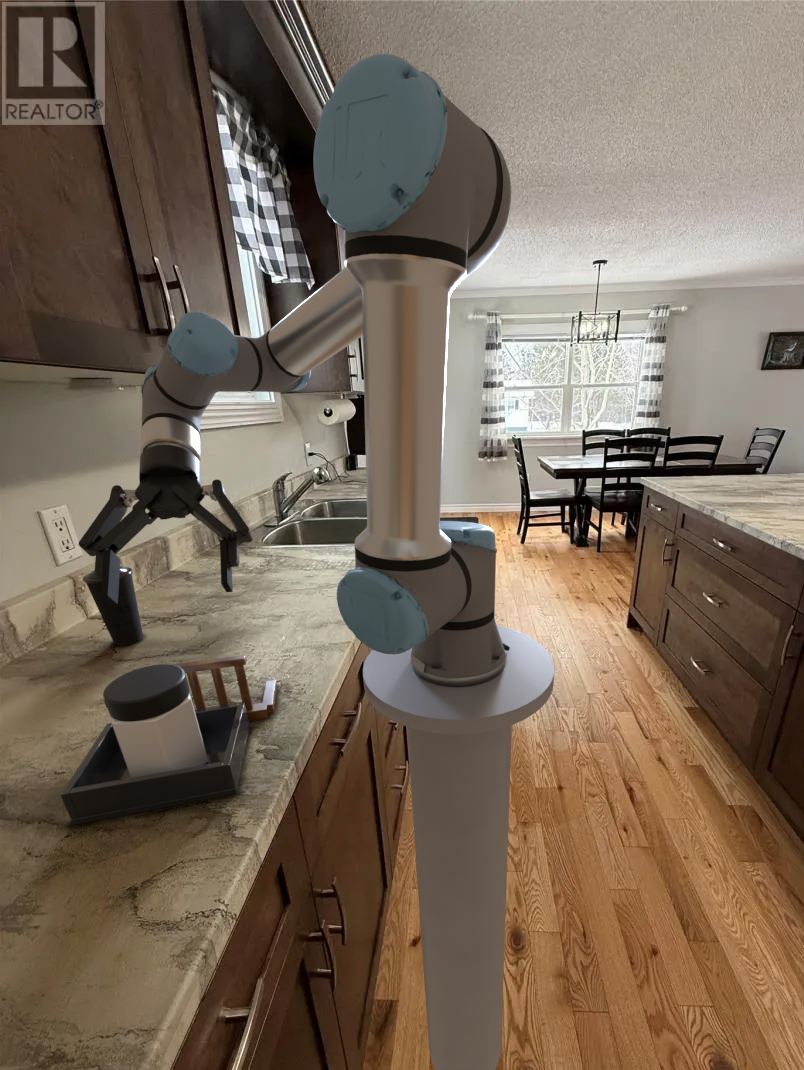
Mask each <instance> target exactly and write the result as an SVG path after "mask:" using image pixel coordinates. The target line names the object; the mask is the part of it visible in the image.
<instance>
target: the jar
mask: <svg viewBox="0 0 804 1070" xmlns="http://www.w3.org/2000/svg"><path fill="white" fill-rule="evenodd" d="M132 670H133V671H132ZM132 670H130V671H128V672H126V673H123V674H122V675H120V676H118V677H116V678H115V679H114V680H112V681H111V682H109V683H108V684H107V685H106V686H105V689H103V692H102V697H103V699H104V700H103V701H104V702H103V703H104V704H105V708H106V709H107V711H108V714H109V716H110V717H111V723H112V726H113V729H114V731H115V734H116V737H117V740H118V743H119V745H120V748H121V751H122V754H123V757H124V759H125V762H126V765H127V768H128V771H129V773H130V776H131V778H133V777H138V776H144V775H150V774H155V773H161V772H166V771H172V770H178V769H183V768H189V767H194V766H200V765H204V764H206V763H207V762H208V758H207V754H206V750H205V747H204V743H203V739H202V736H201V732H200V728H199V725H198V721H197V717H196V714H195V710H196V709H195V707H194V706H195V705H194V704H193V703H194V702H193V700H192V695H191V693H190V692H191V688H190V684H189V681H188V677H187V673H185V671H184V670H183V669H182V668H181V667H179V666H176V665H172V664H168V663H167V664H166V663H161V664H153V665H147V666H144V667H139V668H136V670H134V669H132Z"/></svg>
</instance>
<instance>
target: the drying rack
mask: <svg viewBox="0 0 804 1070" xmlns="http://www.w3.org/2000/svg"><path fill="white" fill-rule="evenodd" d="M247 661H248V659H247V655H246V654H241V655H239V654H238V655H232V656H225V657H217V658H209V659H203V660H195V661H188V662H179V663H173V664H171V665H176V666H179V667H181V668H182V669H183V670H184V671H185V674H186V678H187V681H188V685H189V689H190V692H191V696H192V698H193V703H194V706H195V710H198V709H204V708H207V706H206V703H205V702H206V701H205V698H204V694H203V690H202V687H201V683H200V679H199V675H198V672H203V671H209V670H210V674H211V678H212V681H213V685H214V689H215V693H216V699H217V702H218V706H224V705H230V702H229V698H228V695H227V690H226V687H225V686H226V685H225V681H224V677H223V672H222V669H224V668H225V669H226V668H232V667H234V671H235V676H236V681H237V685H238V689H239V693H240V698H241V703H243V702H244V703H245V707H246V712H247V716H248V721H249V722H252V721H258V720H263V719H268V718H269V715H270V714H274V713H275V707H276V701H277V692H278V685H277V680H276V679H272V680H271V679H270V680H266V681H265V685H264V690H263V696H262V701H261V702H257V703H256V702H255V703H253V702H252V696H251V692H250V687H249V684H248V683H249V682H248V678H247V674H246V669H245V665H246V664H247ZM136 669H137V668H136ZM136 669H131V671H133V670H136Z"/></svg>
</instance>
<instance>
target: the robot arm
mask: <svg viewBox="0 0 804 1070" xmlns="http://www.w3.org/2000/svg"><path fill="white" fill-rule="evenodd" d="M333 89H334V90H333V91H332V94H331V96H330V98H329V99H328V100H326V101H325V104H324V106H323V109H322V111H321V114H320V117H319V121H318V123H317V128H316V133H315V138H314V145H313V157H312V159H313V161H312V162H313V175H314V176H313V177H314V182H315V187H316V191H317V194H318V196H319V199H320V203H321V204H322V205H323V206H324V207H325V208H326V212H327V214H328V216H329V217H330V218H331V219H332V220H333V222H334V223H335V224H336V225H337V226H338V227H339V228H340V229H341V230H343V241H344V242H343V243H344V266H345V267H344V268H343V269H342V270H340V271H339V272H338V273H337V274H335V275H334V276H333V277H332V278H330V279H329V280H328V281H327V282H326V283H324V284H323V285H322V286H321V287H319V288H318V289H317V290H316V291H315V292H314V293H312V294H311V295H310V296H309V297H308V298H306V299H305V300H304V301H302V302H301V303H300V304H299V305H298V306H297V307H295V308H294V309H293V310H292V311H291V312H289V313H288V314H287V315H286V316H285V317H284V318H282V319H281V320H280V321H279V322H278V323H276V324H275V325H274V326H272V327H270V329H269V330H267V331H266V332H265V333H263V334H262V335H260V336H258V337H254V336H253V337H252V336H251V337H250V336H243V335H234V333H233V332H232V331H231V329H230V328H229V327H228V325H226V324H225V323H224V322H222V320H219V319H218V318H216V317H213V318H212V317H211V316H210V315H209V314H207V313H206V312H203V311H189V312H186V313H184V314H183V315H182V316H180V319H178V322H177V324H176V325H175V326H174V328H173V330H172V331H171V332H170V333H169V335H168V337H167V342H166V345H165V347H164V350H163V352H162V355H161V357H160V359H159V362H157V363H156V364H153V365H152V366H150V367H148V368H147V370H146V371H145V373H144V376H143V383H142V385H141V389H140V390H141V391H140V392H141V397H142V398H141V399H142V400H141V403H142V405H141V406H142V407H141V431H140V447H139V453H140V456H139V474H138V475H139V476H138V477H139V478H138V479H139V484H138V486H137V488H135V489H123V487H122V486H121V485H118V484H116V485H113V486H112V487H111V490H110V494H109V498H108V500H107V502H106V503H105V505H104V506H103V507H102V509H101V510H100V512H99V513H98V514H97V516H96V517H95V518H94V520H93V522H92V523H91V524H90V525H89V527H88V529H87V530H86V531H85V532H84V534H83V535H82V537H81V538H80V539H79V541H78V546H79V547H80V548H81V549H82V550H83V551H84V552H85V553H86V554H87V555H89V556H90V557H95V560H94V570H95V574H96V575H97V576H98V577H99V578H100V579H101V580H102V583H101V597H102V598H103V599H104V600H105V601H107V602H108V603H109V604H110V605H118V591H119V573H120V566H121V559H120V558H119V556H118V555H117V554H118V553H119V552H120V551H121V550H122V549H124V547H125V546H127V544H129V542H131V541H132V540H133V539H134V538H135V537H136V536H137V535H138V534H139V533H140V532H142V530H143V529H144V528H145V527H147V526H148V525H152V524H153V523H154V522H155V521H156V520H157V519H160V520H168V519H169V520H170V519H172V518H176V519H186V517H188V516H189V515H191V516H192V517H194V519H196V520H197V521H199V522H200V523H202V524H203V525H204V526H206V527H207V528H208V529H209V530H211V532H213V533H214V534H215V535H216V536H218V538H220V539H219V555H220V556H219V558H220V560H219V561H220V584H221V586H222V588H223V590H224V591H225V592H226V593H233V592H234V589H233V568H237V567H239V565H240V546H241V545H242V544H244V543H247V544H248V543H249V544H250V543H252V542H253V539H254V538H253V535H252V532H251V529H250V527H249V526H248V524H246V522H245V520H244V519H243V518H242V516H241V515H240V513H239V512H238V510H237V509H236V508H235V507H234V505H233V504H232V503H231V501H230V499H229V498H228V496H227V492H226V490H225V488H224V485H223V482H222V481H221V480H220V479H214V480H213V481H212V482H211V484H206V485H202V465H201V457H202V455H201V420H202V416H203V414H204V412H205V411H206V409H207V408H208V406H209V405H210V404H211V401H212V400H213V398H214V396H215V395H216V394H217V393H219V392H224V393H225V392H230V393H231V392H232V393H233V392H236V393H238V392H240V393H241V392H244V393H245V392H255V393H281V394H286V393H290V392H298V391H301V390H303V389H304V388H306V386H307V384H308V381H309V380H310V378H311V373H312V370H314V369H316V368H317V367H319V366H320V365H321V364H323V363H325V362H326V361H328V360H329V359H330V358H332V357H334V356H335V355H336V354H338V353H339V352H341V351H342V350H344V349H346V347H348V346H350V345H351V344H353V343H354V342H355V341H357V340H359V339H360V338H361V337H362V348H363V351H362V352H363V355H362V356H363V391H364V393H363V395H364V396H363V397H364V429H365V430H364V436H365V442H364V443H365V481H366V482H365V487H366V520H367V521H366V527H365V528H364V530H362V531H361V532H360V534H358V535H357V536H356V538H355V539H354V561H355V567H354V568H351V569H349V570H347V572H346V573H345V575H344V576H343V577H342V578H341V579H339V582H338V584H337V588H336V603H337V608H338V612H339V614H340V615H341V618H342V620H343V622H344V624H345V625H346V627H347V628H348V630H350V632H351V633H353V635H354V637H355V638H356V639H357V640H359V642H361V643H362V644H363V645H365V646H366V647H367V648H369V649H371V650H375V651H378V652H380V653H384V654H400V653H404V652H406V651H408V650H409V649H411V648H412V652H411V662H410V663H411V666H412V669H413V671H414V672H415V674H416V675H417V676H419V677H420V678H421V679H423V680H425V681H427V682H429V683H432V684H436V685H440V686H446V687H469V686H475V685H479V684H483V683H486V682H488V681H490V680H492V679H494V678H496V677H497V676H498V675H499V674H500V673H501V672H502V671H503V669H504V667H505V650H506V651H509V649H510V647H509V646H507V645H505V644H504V643H502V640H501V637H500V634H499V631H498V628H497V625H498V624H497V622H496V619H495V616H496V615H495V614H496V613H495V612H496V611H495V607H496V571H497V570H496V568H497V567H496V566H497V564H496V563H497V560H496V559H497V553H498V549H497V548H496V547H497V546H496V544H497V543H496V534H495V533H496V532H495V531H494V529H492V528H491V527H490V526H488V525H486V524H481V523H478V522H477V523H476V522H468V521H459V520H455V521H454V520H441V505H442V503H441V502H442V481H443V455H444V435H445V411H446V410H445V409H446V387H447V365H448V364H447V363H448V345H449V344H448V342H449V341H448V340H449V322H450V321H449V318H450V316H449V315H450V297H451V295H452V293H453V291H454V290H455V289H456V287H458V285H460V284H461V282H462V281H463V280H465V279H466V278H468V277H469V276H470V275H472V274H473V273H474V272H476V271H477V269H480V267H481V266H483V264H484V263H485V262H487V260H488V259H489V258H490V257H491V255H492V254H493V253H494V252H495V250H496V249H497V247H498V246H499V245H500V243H501V241H502V239H503V236H504V234H505V233H506V231H507V230H506V229H507V226H508V222H509V220H510V215H511V208H512V197H513V196H512V193H513V191H512V190H513V189H512V183H511V175H510V171H509V168H508V165H507V162H506V159H505V157H504V154H503V153H502V150H501V149H500V147H499V145H497V143H496V141H495V140H494V139H493V138H492V136H490V134H489V133H488V132H487V131H486V130H485V129H483V128H482V127H480V126H478V125H477V124H476V123H475V122H474V121H473V120H472V119H471V118H470V117H469V116H468V115H467V114H466V113H464V111H462V110H461V109H460V108H459V107H458V106H457V105H456V104H454V103H453V102H452V100H450V99H449V98H448V97H447V96H446V95H444V92H443V90H442V88H441V87H440V84H439V83H438V82H437V81H436V80H435V78H433V77H432V76H431V75H429V74H428V73H426V72H425V71H420V70H419V69H417V68H416V67H415V66H414V65H412V64H411V63H410V62H409V61H407V60H406V59H404V58H402V57H400V56H397V55H395V54H389V53H378V54H373V55H369V56H367V57H365V58H362V59H361V60H359V61H358V62H355V64H353V65H352V66H351V67H349V69H347V70H346V71H345V72H344V73H343V74H342V75H341V77H340V78H339V79H338V81H337V82H336V83H335V86H334V88H333ZM206 496H207V497H209V498H210V499H211V500H212V501H214V502H217V503H218V506H219V507H220V509H221V510H222V512H223V513H224V514H225V516H226V517H227V519H228V520H229V521H230V523H231V524H232V525H233V527H234V529H235V531H234V529H231V528H229V527H228V526H227V525H226V524H225V523H224V522H222V521H221V520H220V519H219V518H217V517H216V516H215V515H214V514H213V513H212V512H210V511H209V510H208V509H207V508H205V507H204V506H203V505H202V504H201V502H202V501H203V500H204V499H205V497H206ZM135 501H136V503H134V505H133V502H135ZM129 508H131V511H129V512H128V513H127V511H128V509H129ZM146 510H147V511H148V512H147V511H146ZM126 513H127V514H126Z"/></svg>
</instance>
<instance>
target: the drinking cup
mask: <svg viewBox="0 0 804 1070" xmlns="http://www.w3.org/2000/svg"><path fill="white" fill-rule="evenodd" d="M133 573H134V570H133V569H132V568H131V567H128V566H127V567H126V566H121V565H120V573H119V591H118V605H110V604H109V603H108V602H107V601H105V600H104V599H103V598H102V597H101V583H102V580H101V579H100V578H99V577H98V576H97V575H96V574H95V569H93V570H91V571H90V572H89V573H87V574H85V575H84V576H83V577H82V581H83V582H84V583H85V584H86V586H87V589H88V590H89V593H90V595H91V597H92V599H93V601H94V603H95V606H96V607H97V610H98V612H99V614H100V616H101V618H102V620H103V623H104V624H105V627H106V629H107V631H108V633H109V636H110V637H111V640H112V642H113V644H114V645H115V646H117V647H119V646H120V647H123V646H130V645H132V644H136V643H138V642H140V641H141V640H143V639H144V633H143V627H142V623H141V616H140V611H139V606H138V601H137V595H136V589H135V585H134V580H133V579H134V578H133Z"/></svg>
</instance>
